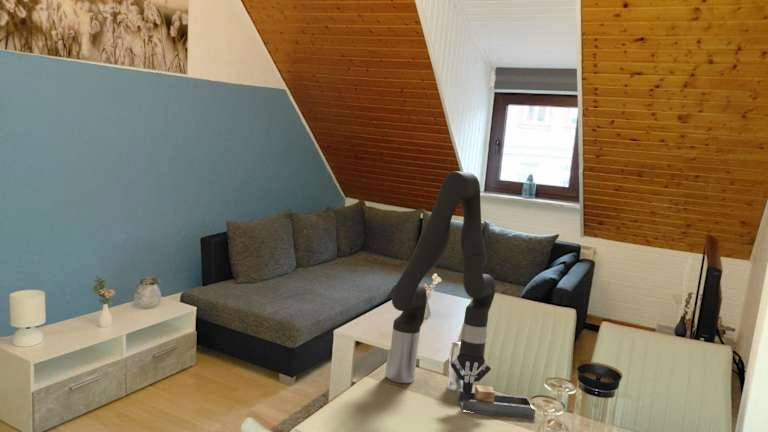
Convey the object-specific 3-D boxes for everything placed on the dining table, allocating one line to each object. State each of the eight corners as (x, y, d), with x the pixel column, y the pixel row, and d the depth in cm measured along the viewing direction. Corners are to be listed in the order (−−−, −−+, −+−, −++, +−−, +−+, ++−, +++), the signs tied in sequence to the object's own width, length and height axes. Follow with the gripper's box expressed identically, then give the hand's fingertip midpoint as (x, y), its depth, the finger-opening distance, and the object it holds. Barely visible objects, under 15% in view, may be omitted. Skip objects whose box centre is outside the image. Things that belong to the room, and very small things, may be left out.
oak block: (476, 406, 166) (478, 391, 166) (473, 400, 171) (475, 384, 171) (492, 408, 167) (494, 392, 166) (489, 401, 172) (491, 386, 171)
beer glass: (442, 388, 182) (447, 344, 181) (449, 382, 188) (455, 340, 187) (462, 394, 179) (467, 349, 178) (469, 388, 185) (474, 345, 184)
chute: (462, 412, 164) (464, 401, 164) (458, 400, 173) (459, 389, 173) (534, 419, 165) (535, 408, 165) (526, 407, 174) (527, 396, 174)
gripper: (454, 340, 163) (447, 396, 165) (497, 344, 164) (490, 400, 165) (450, 332, 171) (444, 386, 172) (492, 337, 171) (485, 390, 172)
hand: (466, 393), depth 168 cm, fingers closed
